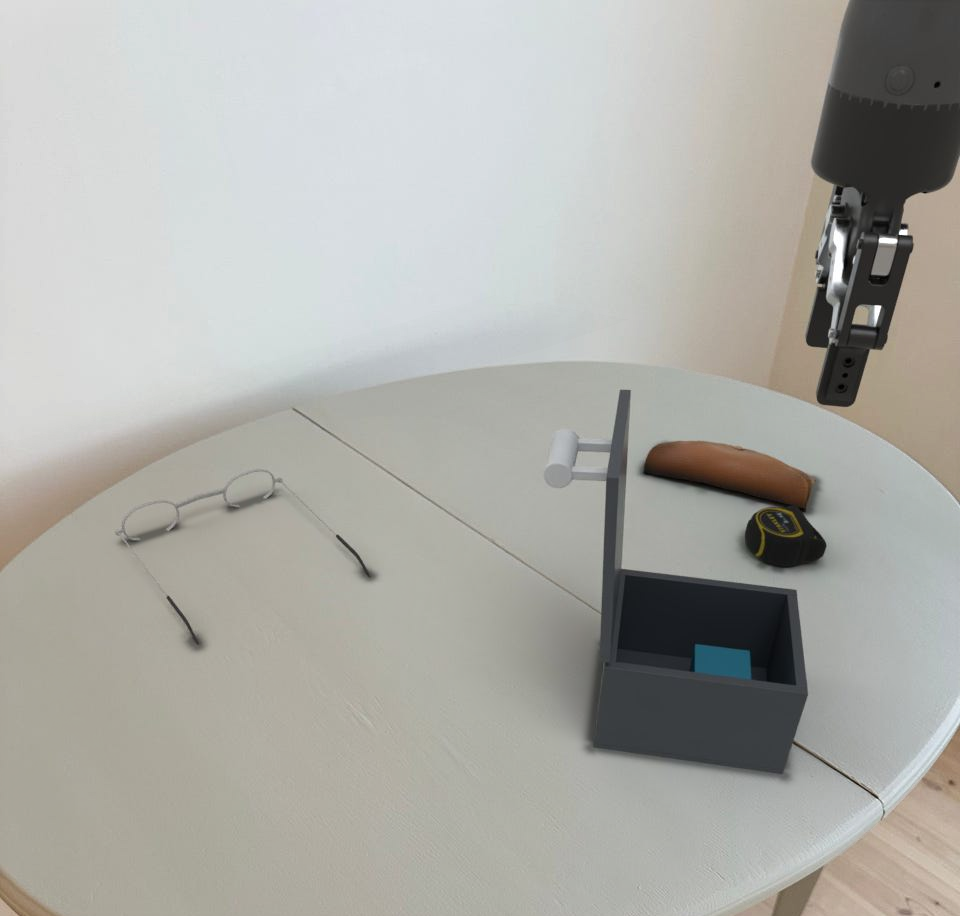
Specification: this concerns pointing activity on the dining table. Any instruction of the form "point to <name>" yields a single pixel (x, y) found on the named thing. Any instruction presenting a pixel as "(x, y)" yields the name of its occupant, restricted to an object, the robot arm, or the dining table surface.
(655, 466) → the sunglasses case
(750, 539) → the tape measure
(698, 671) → the blue block
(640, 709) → the open box
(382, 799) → the dining table surface
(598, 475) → the lid
